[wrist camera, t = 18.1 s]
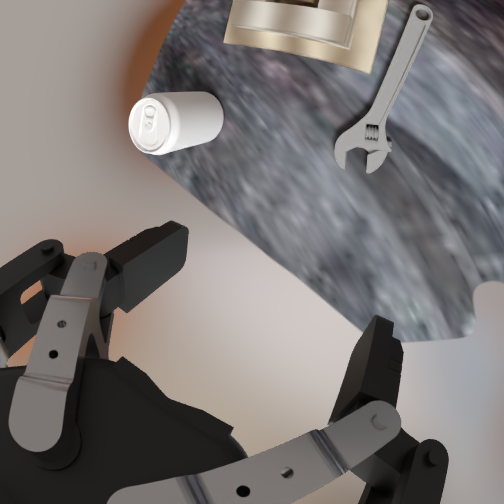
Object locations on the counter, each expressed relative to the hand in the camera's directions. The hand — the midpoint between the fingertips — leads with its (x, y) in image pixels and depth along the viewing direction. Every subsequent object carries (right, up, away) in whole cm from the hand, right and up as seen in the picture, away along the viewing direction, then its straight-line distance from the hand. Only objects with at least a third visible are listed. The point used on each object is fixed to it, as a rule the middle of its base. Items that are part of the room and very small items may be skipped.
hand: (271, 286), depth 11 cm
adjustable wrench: (+17, +21, +18) cm, 32 cm away
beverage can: (-8, +22, +31) cm, 39 cm away
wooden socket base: (+7, +34, +16) cm, 38 cm away
